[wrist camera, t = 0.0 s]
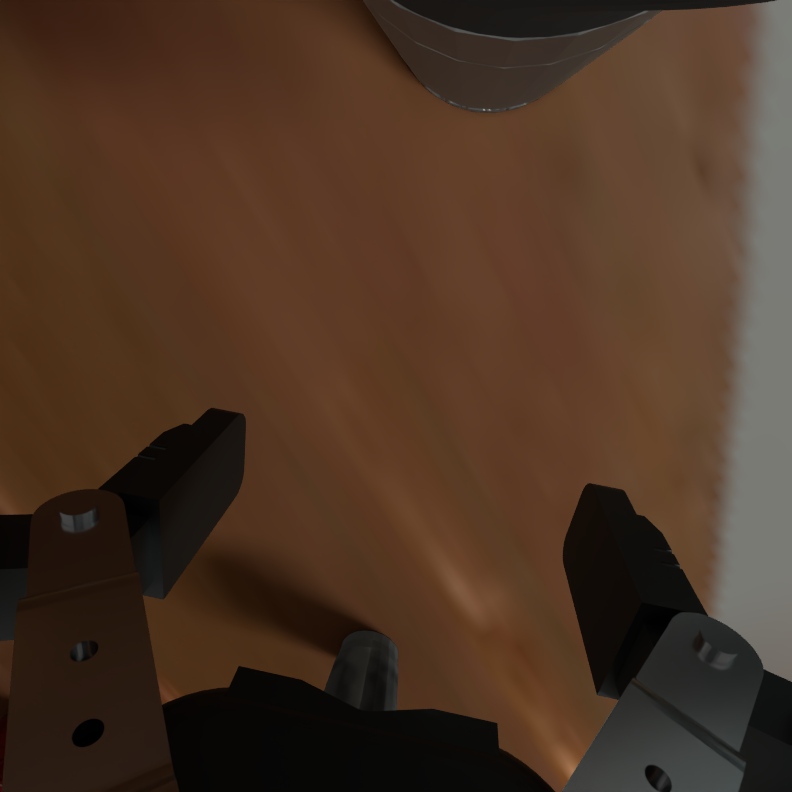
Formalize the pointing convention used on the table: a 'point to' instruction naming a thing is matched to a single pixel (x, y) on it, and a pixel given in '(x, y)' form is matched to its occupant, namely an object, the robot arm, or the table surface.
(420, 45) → the robot arm
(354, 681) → the beverage cup
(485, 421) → the table surface
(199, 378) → the table surface
